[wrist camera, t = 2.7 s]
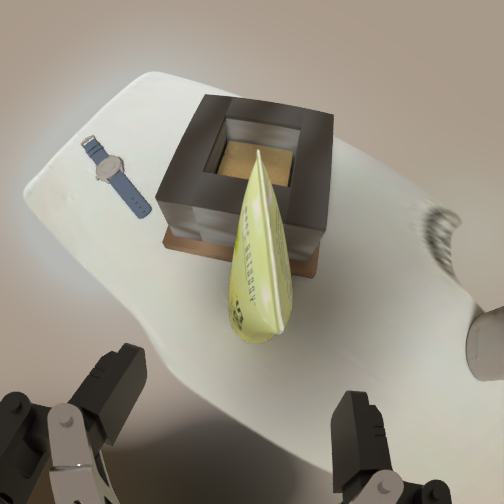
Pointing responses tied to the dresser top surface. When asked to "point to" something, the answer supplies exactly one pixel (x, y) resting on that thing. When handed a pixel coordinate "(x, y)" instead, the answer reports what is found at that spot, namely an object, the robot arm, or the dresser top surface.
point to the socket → (233, 189)
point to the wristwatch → (116, 177)
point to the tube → (260, 264)
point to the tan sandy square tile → (244, 157)
